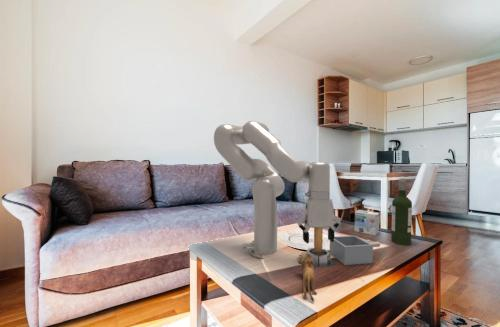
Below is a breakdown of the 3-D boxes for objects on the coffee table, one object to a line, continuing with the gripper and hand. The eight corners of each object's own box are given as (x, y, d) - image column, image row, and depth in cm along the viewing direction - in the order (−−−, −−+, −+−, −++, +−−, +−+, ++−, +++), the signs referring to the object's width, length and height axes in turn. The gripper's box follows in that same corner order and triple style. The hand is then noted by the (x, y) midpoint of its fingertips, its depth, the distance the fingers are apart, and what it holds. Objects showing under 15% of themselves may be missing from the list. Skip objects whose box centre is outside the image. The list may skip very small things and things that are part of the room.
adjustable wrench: (343, 257, 99) (343, 252, 99) (331, 251, 105) (331, 247, 105) (382, 246, 111) (382, 242, 111) (369, 242, 117) (369, 238, 116)
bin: (344, 269, 87) (345, 246, 87) (329, 256, 98) (329, 236, 98) (372, 267, 89) (373, 245, 89) (354, 255, 100) (355, 235, 100)
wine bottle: (414, 245, 111) (416, 179, 110) (395, 244, 112) (397, 179, 111) (406, 239, 119) (407, 177, 118) (388, 239, 120) (389, 177, 119)
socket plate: (310, 271, 85) (310, 258, 85) (298, 258, 96) (298, 247, 96) (339, 269, 87) (339, 256, 87) (324, 257, 98) (325, 245, 98)
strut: (314, 263, 88) (315, 219, 88) (309, 257, 93) (309, 215, 93) (327, 262, 89) (328, 218, 89) (321, 256, 94) (321, 215, 94)
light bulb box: (354, 231, 132) (354, 211, 132) (357, 228, 137) (358, 209, 137) (375, 235, 125) (376, 214, 125) (379, 232, 130) (379, 212, 130)
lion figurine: (295, 277, 81) (295, 250, 81) (311, 277, 81) (312, 250, 81) (304, 303, 67) (304, 270, 66) (324, 303, 67) (324, 271, 66)
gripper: (300, 197, 85) (300, 246, 86) (346, 196, 88) (345, 243, 89) (293, 194, 93) (292, 239, 93) (335, 193, 96) (335, 236, 96)
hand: (318, 241), depth 91 cm, fingers open, 9 cm apart
